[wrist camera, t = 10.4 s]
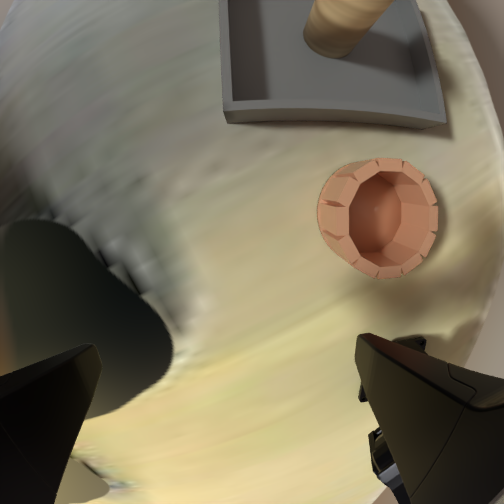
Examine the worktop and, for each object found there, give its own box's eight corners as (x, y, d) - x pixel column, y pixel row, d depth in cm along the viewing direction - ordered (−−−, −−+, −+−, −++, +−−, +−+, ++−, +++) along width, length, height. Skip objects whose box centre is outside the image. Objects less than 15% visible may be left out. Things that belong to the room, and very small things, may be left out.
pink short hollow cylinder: (405, 258, 22) (435, 274, 17) (317, 265, 22) (334, 285, 17) (406, 163, 20) (437, 160, 16) (314, 161, 20) (331, 155, 16)
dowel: (356, 61, 17) (420, -4, 7) (306, 56, 17) (345, -24, 7) (348, 21, 16) (398, -50, 7) (300, 16, 16) (328, -67, 7)
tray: (422, 129, 19) (446, 123, 16) (227, 123, 19) (223, 111, 16) (393, -1, 16) (408, -18, 13) (221, -16, 16) (218, -39, 13)
